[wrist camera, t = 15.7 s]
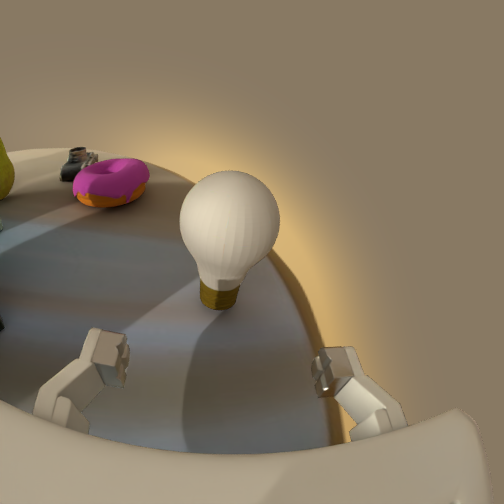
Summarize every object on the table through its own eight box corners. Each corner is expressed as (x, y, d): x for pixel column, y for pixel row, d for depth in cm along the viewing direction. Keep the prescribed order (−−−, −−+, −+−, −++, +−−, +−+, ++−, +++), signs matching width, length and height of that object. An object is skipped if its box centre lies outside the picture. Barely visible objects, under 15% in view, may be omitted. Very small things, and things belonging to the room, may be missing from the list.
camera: (99, 161, 42) (99, 139, 40) (88, 182, 34) (87, 155, 32) (74, 163, 40) (73, 141, 38) (58, 184, 32) (56, 157, 30)
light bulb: (256, 285, 23) (286, 168, 17) (255, 342, 18) (296, 204, 12) (186, 273, 22) (196, 153, 17) (168, 327, 17) (169, 183, 12)
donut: (116, 177, 37) (116, 149, 34) (166, 194, 34) (168, 161, 32) (61, 201, 28) (57, 167, 26) (107, 224, 26) (104, 184, 24)
